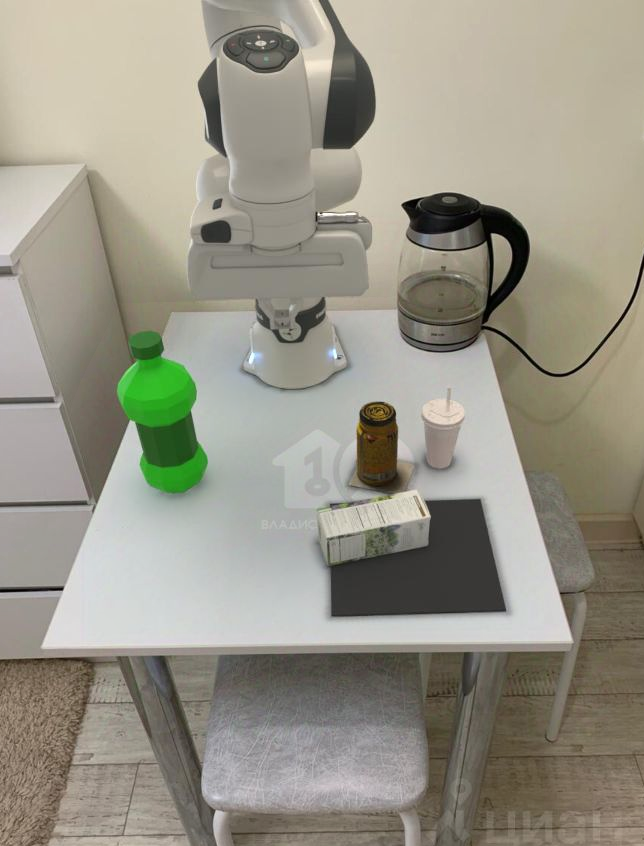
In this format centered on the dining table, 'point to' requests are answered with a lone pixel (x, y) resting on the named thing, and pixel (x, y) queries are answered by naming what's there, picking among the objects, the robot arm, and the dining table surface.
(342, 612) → the mat
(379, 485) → the condiment
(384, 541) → the syrup box
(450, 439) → the smoothie
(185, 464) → the plastic bottle
